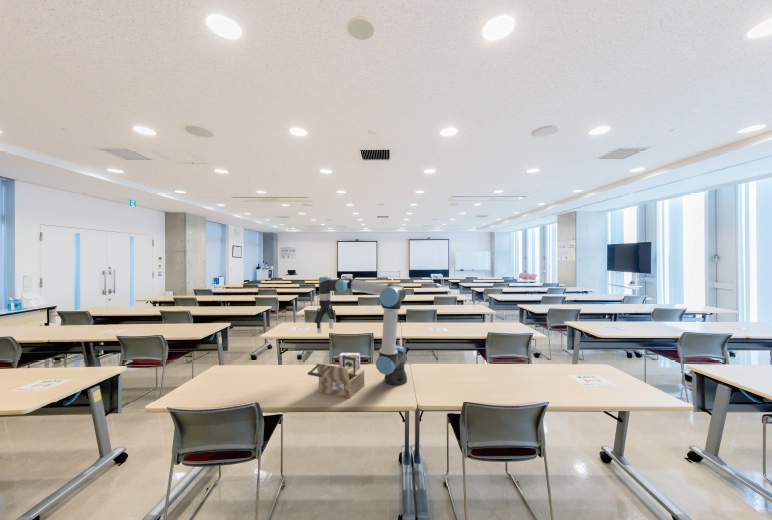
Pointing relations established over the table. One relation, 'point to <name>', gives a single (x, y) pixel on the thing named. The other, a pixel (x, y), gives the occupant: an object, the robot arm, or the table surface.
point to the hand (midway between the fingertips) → (325, 330)
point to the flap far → (351, 370)
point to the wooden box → (342, 385)
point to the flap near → (330, 372)
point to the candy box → (350, 362)
